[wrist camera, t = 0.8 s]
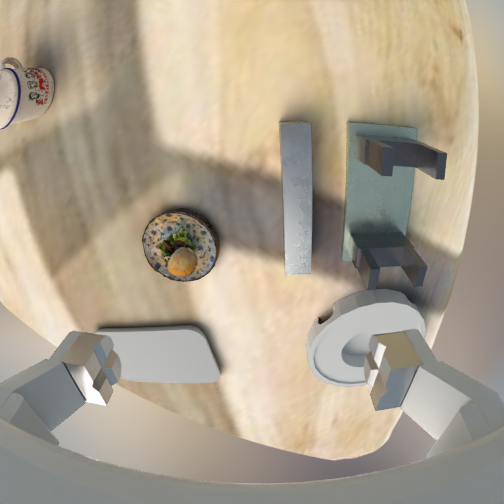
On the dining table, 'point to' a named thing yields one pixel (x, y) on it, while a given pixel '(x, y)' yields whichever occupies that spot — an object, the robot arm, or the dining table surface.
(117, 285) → the dining table surface
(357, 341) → the ashtray
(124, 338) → the tablet
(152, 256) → the burger
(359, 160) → the bracket stand
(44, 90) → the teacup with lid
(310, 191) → the rail
